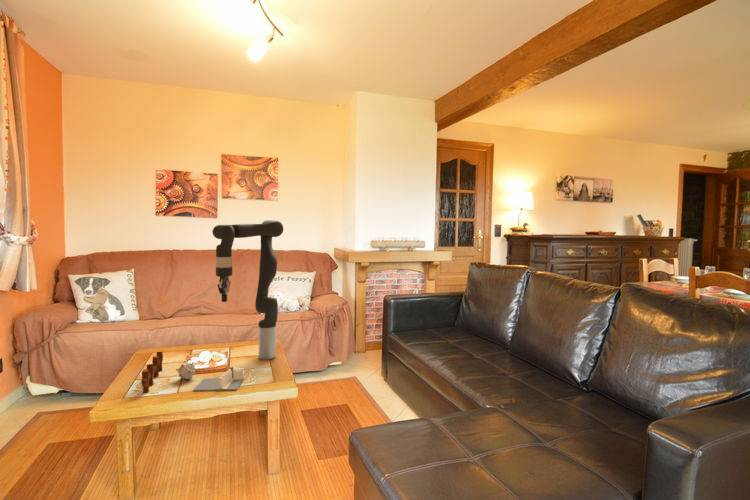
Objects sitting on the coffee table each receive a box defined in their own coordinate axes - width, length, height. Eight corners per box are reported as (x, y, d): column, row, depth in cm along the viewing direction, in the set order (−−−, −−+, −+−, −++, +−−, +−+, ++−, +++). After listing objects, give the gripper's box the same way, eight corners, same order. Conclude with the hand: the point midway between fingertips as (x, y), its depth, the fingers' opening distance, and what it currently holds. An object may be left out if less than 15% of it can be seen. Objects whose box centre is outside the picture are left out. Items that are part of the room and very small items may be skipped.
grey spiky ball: (191, 386, 184) (205, 368, 185) (178, 386, 176) (192, 368, 177) (181, 373, 188) (195, 356, 189) (168, 373, 180) (181, 355, 181)
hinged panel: (231, 377, 183) (230, 366, 183) (233, 377, 183) (233, 366, 183) (218, 388, 170) (218, 377, 170) (221, 388, 170) (221, 377, 170)
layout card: (203, 379, 182) (203, 378, 182) (244, 378, 184) (244, 377, 184) (193, 391, 169) (192, 389, 169) (236, 390, 171) (236, 388, 171)
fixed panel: (233, 379, 182) (233, 368, 181) (234, 378, 183) (234, 367, 183) (243, 379, 182) (243, 368, 182) (244, 378, 183) (243, 367, 183)
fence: (158, 368, 197) (158, 348, 196) (164, 367, 197) (164, 348, 197) (139, 395, 165) (139, 372, 164) (147, 395, 165) (147, 372, 165)
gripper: (220, 264, 195) (220, 299, 196) (211, 267, 182) (211, 304, 183) (235, 264, 196) (236, 299, 197) (227, 267, 183) (228, 304, 184)
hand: (224, 301), depth 190 cm, fingers closed
